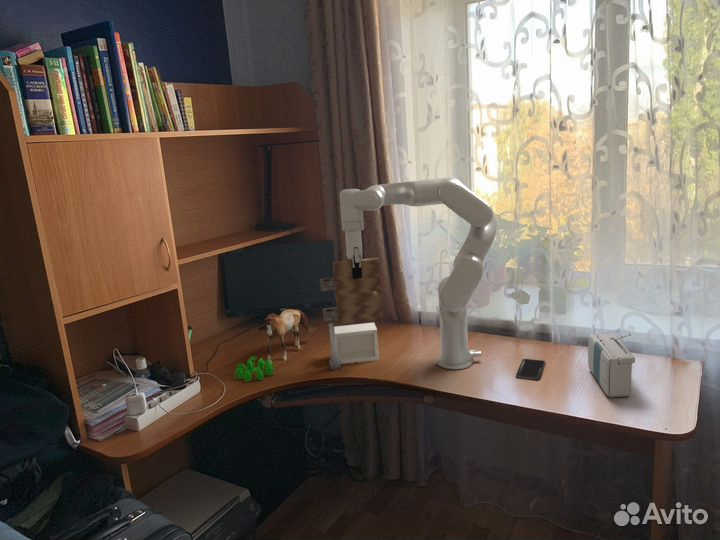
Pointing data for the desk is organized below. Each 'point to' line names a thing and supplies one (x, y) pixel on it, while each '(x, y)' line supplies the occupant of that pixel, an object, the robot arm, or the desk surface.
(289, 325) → the horse figurine
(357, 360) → the cabinet
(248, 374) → the green lumpy cluster
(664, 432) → the desk surface
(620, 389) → the stereo radio cassette player
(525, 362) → the phone
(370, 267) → the walnut door
